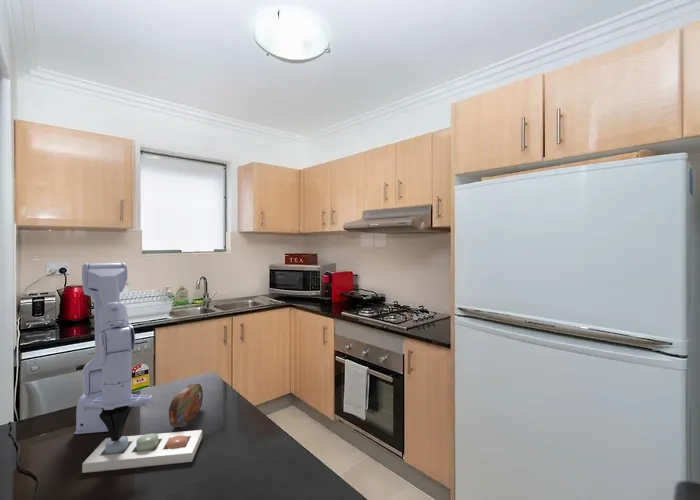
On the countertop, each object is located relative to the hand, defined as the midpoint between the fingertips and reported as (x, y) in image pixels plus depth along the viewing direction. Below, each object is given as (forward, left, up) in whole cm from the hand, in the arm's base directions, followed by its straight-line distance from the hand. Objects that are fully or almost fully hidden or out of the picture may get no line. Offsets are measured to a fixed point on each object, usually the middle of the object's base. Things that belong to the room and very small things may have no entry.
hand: (116, 438), depth 80 cm
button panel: (+6, 0, -4) cm, 8 cm away
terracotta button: (+13, 0, -4) cm, 14 cm away
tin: (+11, +16, -5) cm, 20 cm away
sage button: (+7, 0, -3) cm, 7 cm away
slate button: (0, 0, -3) cm, 3 cm away
